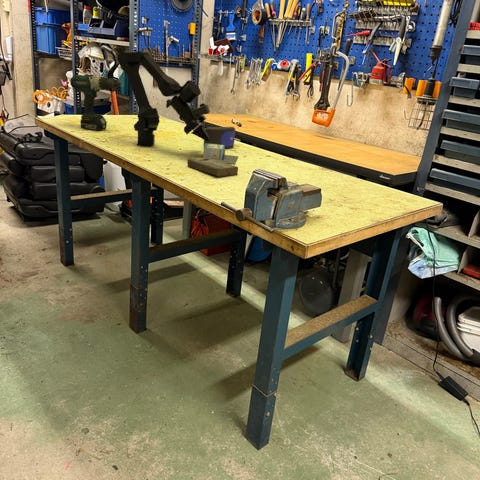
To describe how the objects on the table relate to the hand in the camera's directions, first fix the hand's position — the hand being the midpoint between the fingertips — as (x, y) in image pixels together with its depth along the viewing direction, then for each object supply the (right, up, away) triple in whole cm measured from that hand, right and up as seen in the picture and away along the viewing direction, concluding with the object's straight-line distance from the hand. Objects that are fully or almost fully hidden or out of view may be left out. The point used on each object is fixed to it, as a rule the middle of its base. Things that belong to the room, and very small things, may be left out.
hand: (208, 140), depth 175 cm
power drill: (-56, +12, +32) cm, 65 cm away
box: (+2, -15, -16) cm, 22 cm away
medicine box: (-3, -4, +2) cm, 5 cm away
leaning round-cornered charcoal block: (+3, +2, +22) cm, 22 cm away
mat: (+5, -7, +2) cm, 9 cm away
